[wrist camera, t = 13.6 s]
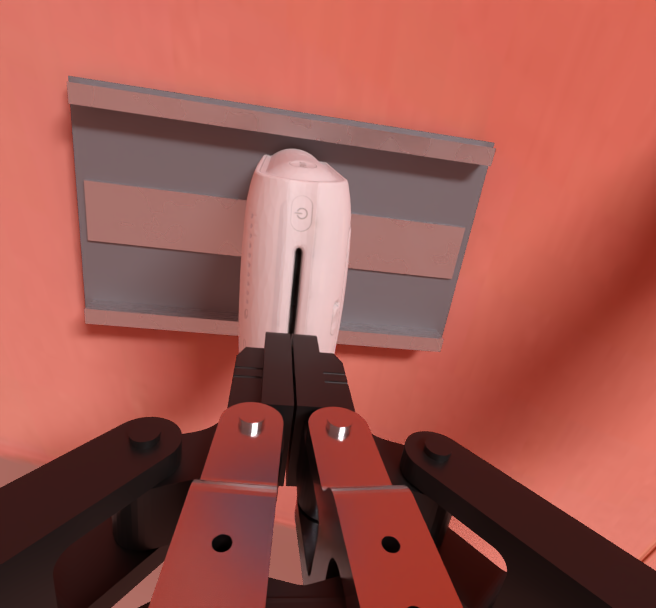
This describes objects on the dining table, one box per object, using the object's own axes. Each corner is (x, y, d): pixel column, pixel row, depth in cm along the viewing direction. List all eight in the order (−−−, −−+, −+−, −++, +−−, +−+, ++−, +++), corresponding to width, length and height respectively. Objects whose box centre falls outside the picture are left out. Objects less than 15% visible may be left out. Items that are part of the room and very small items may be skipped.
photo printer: (257, 141, 25) (238, 161, 13) (332, 150, 25) (374, 176, 14) (248, 307, 29) (227, 430, 17) (313, 311, 29) (334, 434, 18)
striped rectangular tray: (485, 146, 26) (495, 148, 25) (433, 342, 31) (440, 352, 30) (78, 83, 23) (66, 81, 22) (94, 314, 28) (85, 323, 27)
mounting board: (487, 141, 27) (494, 142, 26) (434, 340, 32) (439, 346, 31) (76, 77, 24) (68, 75, 23) (92, 311, 29) (86, 317, 28)
